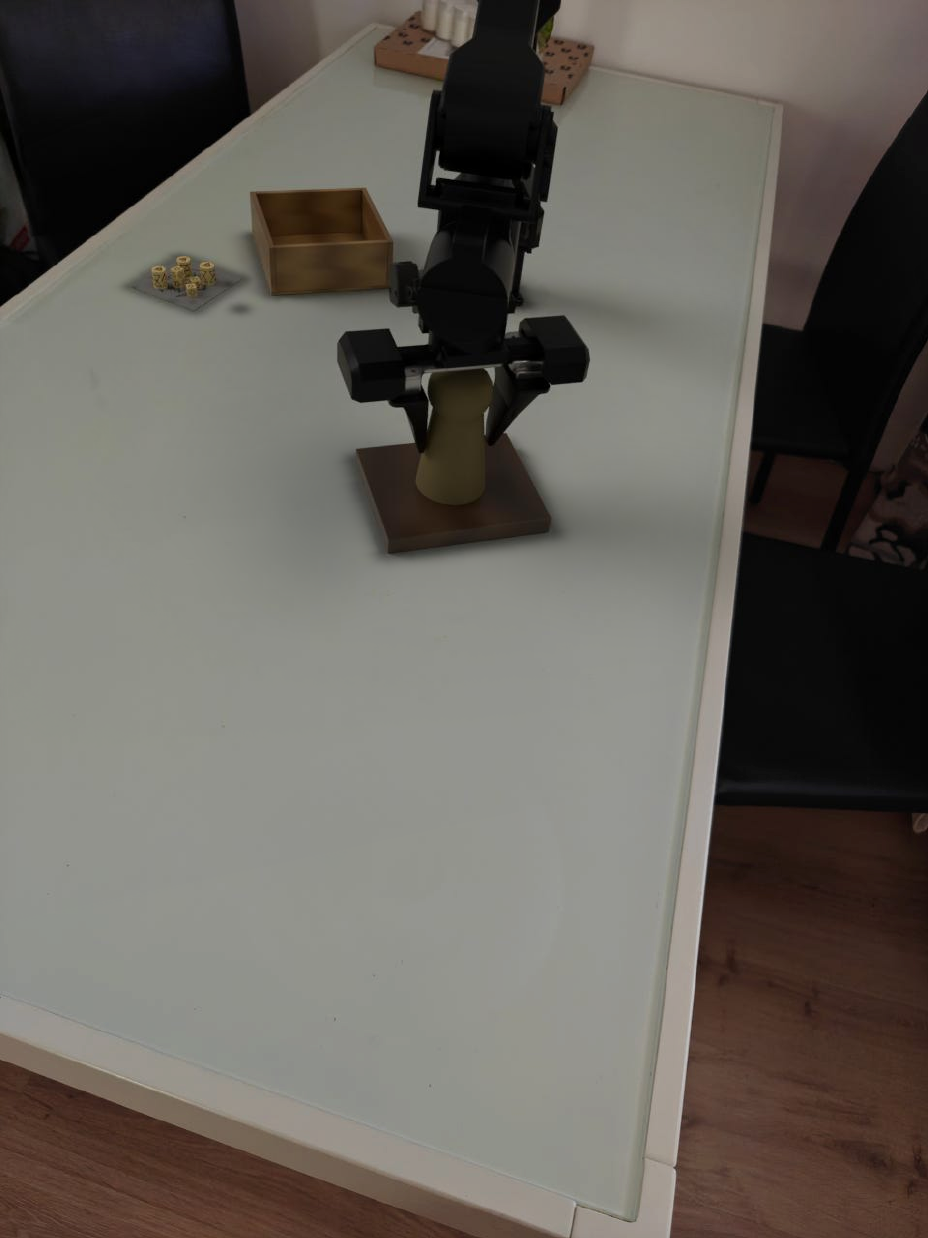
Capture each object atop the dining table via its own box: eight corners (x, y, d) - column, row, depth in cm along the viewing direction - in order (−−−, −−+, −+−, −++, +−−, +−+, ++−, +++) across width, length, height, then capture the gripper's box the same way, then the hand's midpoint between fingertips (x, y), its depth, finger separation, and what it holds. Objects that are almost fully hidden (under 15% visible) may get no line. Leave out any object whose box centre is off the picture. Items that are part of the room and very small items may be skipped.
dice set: (150, 286, 105) (148, 269, 103) (181, 267, 108) (179, 250, 107) (189, 301, 103) (187, 284, 102) (219, 281, 107) (218, 264, 105)
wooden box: (364, 231, 118) (365, 186, 114) (391, 287, 109) (393, 241, 105) (252, 236, 114) (249, 191, 110) (271, 295, 106) (268, 247, 102)
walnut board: (504, 445, 91) (506, 432, 90) (549, 531, 84) (551, 518, 83) (355, 462, 88) (355, 448, 87) (387, 553, 80) (388, 539, 79)
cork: (413, 459, 86) (421, 347, 78) (482, 460, 87) (496, 350, 79) (417, 504, 82) (426, 391, 74) (489, 505, 83) (505, 394, 75)
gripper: (556, 212, 78) (528, 381, 89) (321, 222, 73) (323, 400, 85) (610, 283, 71) (572, 457, 82) (354, 299, 66) (351, 482, 77)
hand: (454, 446), depth 82 cm, fingers open, 6 cm apart
